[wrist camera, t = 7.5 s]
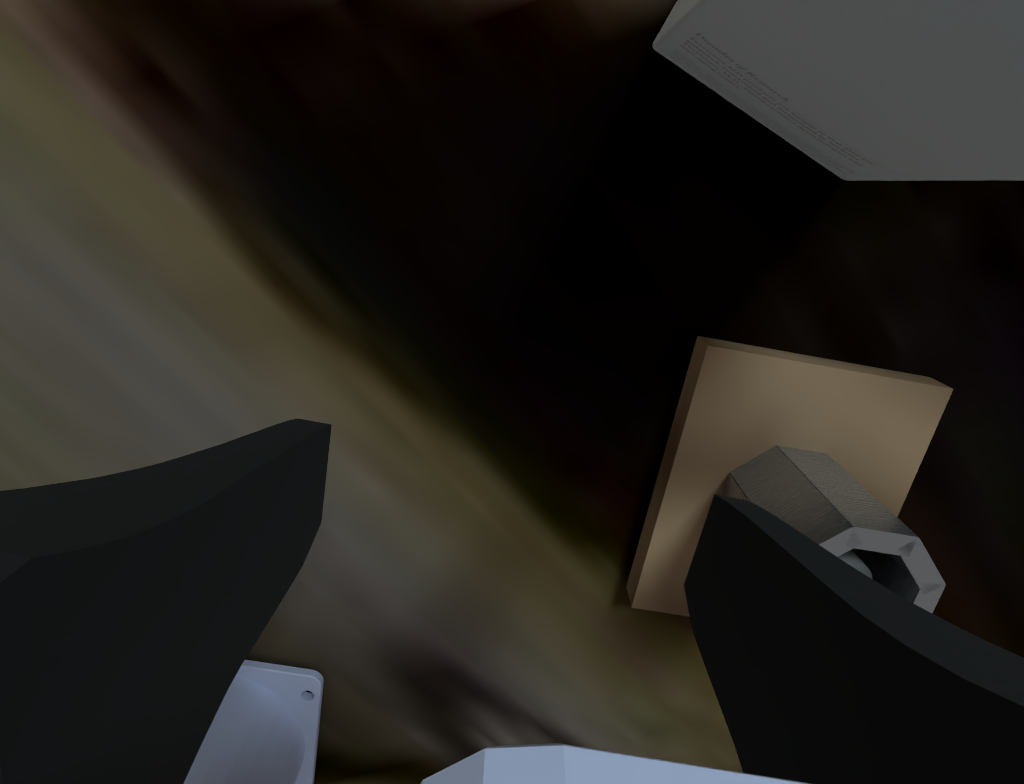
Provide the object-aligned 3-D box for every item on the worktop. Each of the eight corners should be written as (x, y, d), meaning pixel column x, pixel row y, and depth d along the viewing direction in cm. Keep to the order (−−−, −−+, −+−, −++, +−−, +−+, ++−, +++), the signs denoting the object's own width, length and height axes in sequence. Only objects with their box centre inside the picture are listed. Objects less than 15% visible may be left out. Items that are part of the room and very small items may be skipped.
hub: (820, 566, 22) (903, 673, 17) (704, 547, 22) (756, 651, 17) (863, 459, 21) (965, 545, 16) (739, 439, 20) (805, 518, 16)
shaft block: (827, 618, 24) (911, 741, 19) (626, 586, 24) (655, 702, 19) (929, 377, 21) (1065, 444, 16) (697, 335, 20) (757, 390, 15)
